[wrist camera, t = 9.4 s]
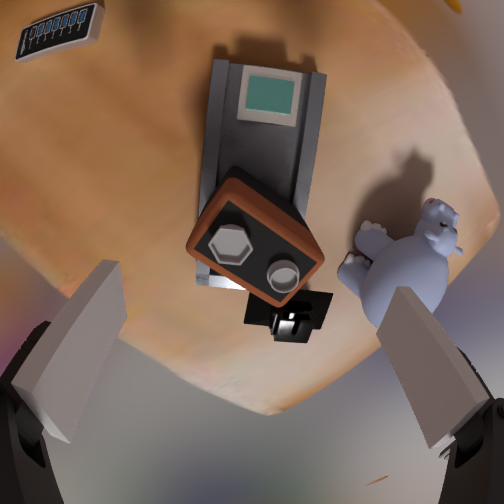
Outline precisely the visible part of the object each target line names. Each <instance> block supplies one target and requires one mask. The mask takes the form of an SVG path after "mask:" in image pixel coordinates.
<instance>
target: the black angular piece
mask: <svg viewBox="0 0 504 504" xmlns="http://www.w3.org/2000/svg"><path fill="white" fill-rule="evenodd" d="M332 297H333V293H327V292H318V291H309V290H300V289H299V290H298V291H297V292H296V293H295V294H294V295H293V296H292V297H291V298H290V299H289V301H288V302H287V303H286V304H285V305H283V306H282V307H276V306H273V305H271V304H270V303H268V302H266V301H265V300H263V299H261V298H259V297H258V296H256V295H254V294H253V293H251V292H250V293H249V298H248V303H247V308H246V313H245V318H244V324H253V325H263V326H269V329H270V332H271V335H274V341H280V342H295V343H307V342H308V340H309V337H310V335H311V332H312V329H318V330H319V329H321V327H322V324H323V322H324V319H325V316H326V313H327V311H328V308H329V305H330V302H331V300H332Z"/></svg>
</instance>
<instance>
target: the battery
mask: <svg viewBox="0 0 504 504" xmlns="http://www.w3.org/2000/svg"><path fill="white" fill-rule="evenodd" d="M186 251H187V252H188V253H189V254H190V255H191V256H193V257H194V258H196V259H197V260H199V261H200V262H202V263H204V264H205V265H207V266H208V267H210V268H212V269H213V270H215V271H217V272H218V273H220V274H221V275H223V276H225V277H226V278H228V279H230V280H231V281H233V282H234V283H236V284H238V285H239V286H241V287H243V288H244V289H246V290H248V291H249V292H251V293H253V294H254V295H256V296H258V297H259V298H261V299H263V300H265V301H266V302H268V303H270V304H271V305H273V306H276V307H282V306H283V305H285V304H286V303H287V302H288V301H289V299H290V298H291V297H292V296H293V295H294V294H295V293H296V292H297V291H298V290H299V289H300V288H301V287H302V286H303V285H304V284H305V283H306V282H307V280H308V279H309V278H310V277H311V276H312V275H313V274H314V273H315V272H316V271H317V270H318V268H319V267H320V266H321V265H322V264H323V263H324V260H325V258H324V255H323V253H322V251H321V249H320V247H319V245H318V244H317V242H316V240H315V238H314V237H313V235H312V233H311V231H310V230H309V228H308V226H307V224H306V223H305V221H304V219H303V217H302V216H301V214H300V212H299V211H298V209H297V208H295V207H294V206H293V205H292V204H290V203H289V202H288V201H286V200H285V199H284V198H282V197H281V196H280V195H278V194H277V193H276V192H274V191H273V190H271V189H270V188H269V187H267V186H266V185H265V184H263V183H262V182H260V181H259V180H258V179H256V178H255V177H253V176H252V175H251V174H249V173H248V172H246V171H245V170H243V169H242V168H241V167H239V166H232V167H231V168H230V169H229V171H228V172H227V174H226V175H225V176H224V178H223V179H222V180H221V182H220V183H219V185H218V186H217V187H216V189H215V190H214V192H213V193H212V195H211V196H210V197H209V199H208V200H207V202H206V204H205V206H204V208H203V210H202V212H201V214H200V216H199V218H198V220H197V222H196V224H195V226H194V228H193V230H192V233H191V235H190V237H189V239H188V241H187V243H186Z"/></svg>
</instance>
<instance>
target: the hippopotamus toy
mask: <svg viewBox="0 0 504 504" xmlns="http://www.w3.org/2000/svg"><path fill="white" fill-rule="evenodd" d="M458 217H459V214H457V213H456V212H455V211H454V209H453V208H452V207H451V206H449V205H448V204H446V203H445V202H443V201H442V200H440V199H434V198H429V199H427V200H426V201H425V203H424V205H423V208H422V218H421V220H420V221H419V222H418V224H417V226H416V228H415V231H414V235H413V236H408V237H404V238H401V239H399V240H396V241H394V240H393V239H391V238H390V237H388V236H387V235H386V233H387V231H386V229H385V228H381V225H380V224H378V223H373V224H371V222H370V221H368V220H365V221H364V222H363V223H362V224H361V228H360V230H359V231H358V232H357V233H356V235H355V240H354V241H355V245H356V247H357V249H358V250H360V251H361V252H362V253H363V254H365V255H366V256H367V257H369V258H370V259H371V260H373V261H374V262H373V263H372V265H371V267H370V261H369V260H366V261H365V258H364V257H363V256H356V257H354V255H353V254H348V256H347V258H346V259H345V261H344V263H343V264H342V265H341V266H340V268H339V270H338V278H339V280H340V281H341V282H342V283H343V284H344V285H346V286H347V287H348V288H349V289H350V290H351V291H352V292H353V293H354V294H355V295H357V296H358V297H359V298H360V299H361V302H362V307H363V310H364V313H365V315H366V317H367V319H368V320H369V321H370V322H371V323H372V324H373V325H374V326H375V327H377V328H378V329H379V327H380V324H381V322H382V320H383V318H384V315H385V313H386V311H387V308H388V306H389V304H390V301H391V299H392V297H393V294H394V292H395V289H396V287H397V286H408V287H411V289H412V290H413V291H414V292H415V293H416V295H417V296H418V297H419V298H420V300H421V301H422V302H423V303H424V305H425V306H426V307H427V308H428V310H429V311H430V312H431V313H433V311H434V310H435V309H436V307H437V306H438V304H439V303H440V301H441V299H442V297H443V295H444V293H445V290H446V286H447V282H448V274H449V268H448V261H447V258H446V257H447V256H448V255H449V254H451V252H452V251H455V252H456V253H457V254H458V255H462V253H463V250H462V249H461V248H460V247H456V242H457V237H458V235H457V230H456V229H455V227H456V224H457V218H458ZM369 267H370V269H369Z"/></svg>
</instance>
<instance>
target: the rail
mask: <svg viewBox="0 0 504 504" xmlns="http://www.w3.org/2000/svg"><path fill="white" fill-rule="evenodd" d="M326 78H327V74H322V73H318V72H313V71H312V72H311V73H310V74H307V73H302V72H297V71H291V70H285V69H279V68H272V67H264V66H256V65H246V64H235V63H230V61H229V60H222V59H214V62H213V69H212V77H211V84H210V92H209V100H208V109H207V118H206V128H205V138H204V149H203V160H202V173H201V187H200V202H199V216H200V214H201V212H202V210H203V208H204V206H205V204H206V202H207V200H208V199H209V197H210V196H211V195H212V193H213V192H214V190H215V189H216V187H217V186H218V185H219V183H220V182H221V180H222V179H223V178H224V176H225V175H226V174H227V172H228V171H229V169H230V168H231V167H232V166H239V167H241V168H242V169H243V170H245V171H246V172H248V173H249V174H251V175H252V176H253V177H255V178H256V179H258V180H259V181H260V182H262V183H263V184H265V185H266V186H267V187H269V188H270V189H271V190H273V191H274V192H276V193H277V194H278V195H280V196H281V197H282V198H284V199H285V200H286V201H288V202H289V203H290V204H292V205H293V206H294V207H295V208H297V209H298V211H299V212H300V214H301V216H302V217H303V219H305V214H306V208H307V203H308V197H309V192H310V186H311V180H312V174H313V168H314V162H315V156H316V150H317V143H318V137H319V130H320V123H321V116H322V109H323V101H324V94H325V86H326ZM196 285H204V286H214V287H224V288H234V289H244V288H243V287H241V286H239V285H238V284H236V283H234V282H233V281H231V280H230V279H228V278H226V277H225V276H223V275H221V274H220V273H218V272H217V271H215V270H213V269H212V268H210V267H208V266H207V265H205V264H204V263H202V262H200V261H199V260H197V272H196Z"/></svg>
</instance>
